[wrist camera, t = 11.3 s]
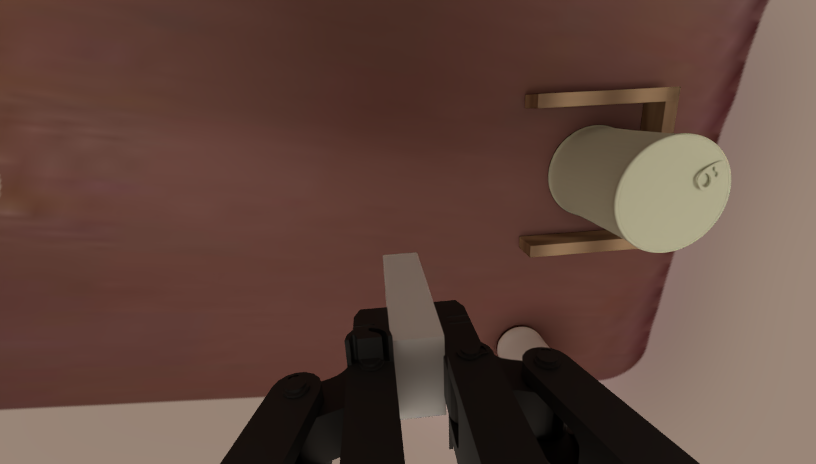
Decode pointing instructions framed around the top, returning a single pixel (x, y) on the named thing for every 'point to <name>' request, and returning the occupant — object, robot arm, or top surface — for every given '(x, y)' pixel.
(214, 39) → the top surface
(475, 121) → the top surface
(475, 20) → the top surface
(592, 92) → the corral
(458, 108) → the top surface
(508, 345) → the drinking glass
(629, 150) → the can
